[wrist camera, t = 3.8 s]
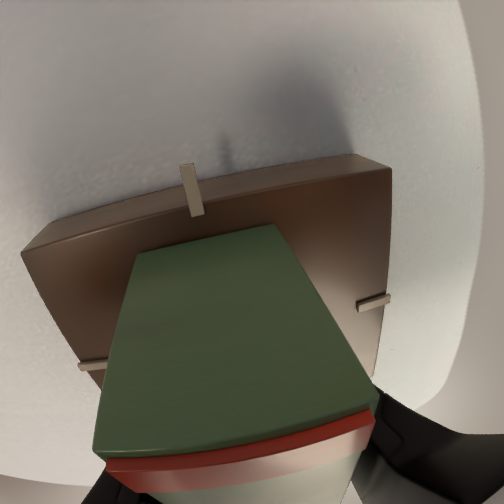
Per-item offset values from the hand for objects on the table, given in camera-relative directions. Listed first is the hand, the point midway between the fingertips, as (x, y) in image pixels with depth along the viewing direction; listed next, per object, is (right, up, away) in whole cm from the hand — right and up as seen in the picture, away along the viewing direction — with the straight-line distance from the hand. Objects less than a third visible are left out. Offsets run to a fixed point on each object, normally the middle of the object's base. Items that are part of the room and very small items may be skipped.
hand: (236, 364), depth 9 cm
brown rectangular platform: (-1, +2, +3) cm, 4 cm away
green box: (0, 0, +1) cm, 1 cm away
